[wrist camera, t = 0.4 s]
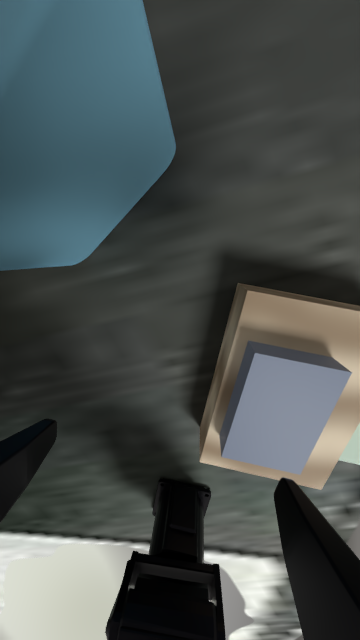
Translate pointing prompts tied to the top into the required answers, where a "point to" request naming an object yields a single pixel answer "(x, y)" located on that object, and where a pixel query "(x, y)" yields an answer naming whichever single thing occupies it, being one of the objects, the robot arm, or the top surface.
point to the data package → (75, 125)
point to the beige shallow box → (298, 334)
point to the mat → (352, 448)
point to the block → (280, 406)
